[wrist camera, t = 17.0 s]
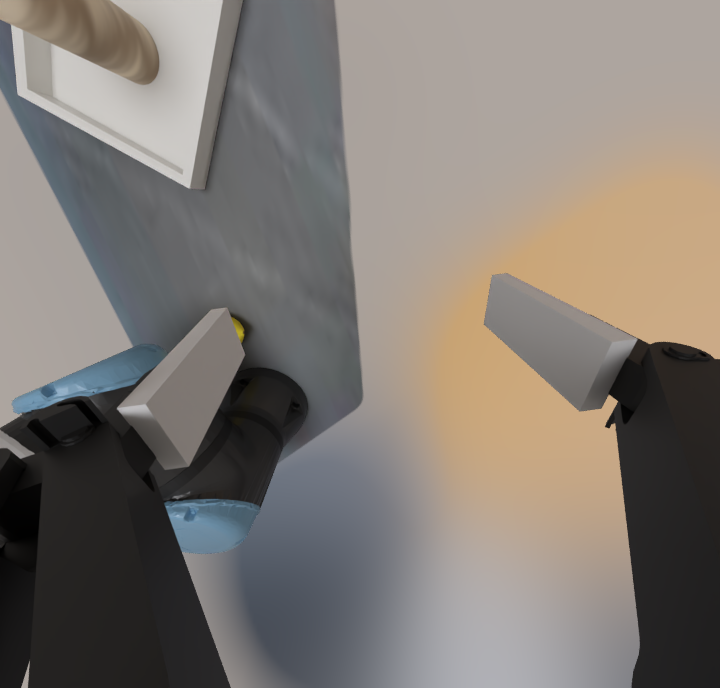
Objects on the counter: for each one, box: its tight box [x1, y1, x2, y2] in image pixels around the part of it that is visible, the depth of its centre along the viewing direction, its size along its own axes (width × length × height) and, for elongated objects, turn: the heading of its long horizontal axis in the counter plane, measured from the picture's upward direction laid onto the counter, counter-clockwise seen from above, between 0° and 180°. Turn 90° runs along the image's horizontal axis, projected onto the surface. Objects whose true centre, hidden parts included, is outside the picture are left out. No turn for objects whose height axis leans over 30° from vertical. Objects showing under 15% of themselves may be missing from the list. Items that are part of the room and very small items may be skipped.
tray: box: [11, 0, 243, 190], centre depth 26 cm, size 18×18×3 cm
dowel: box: [0, 0, 159, 85], centre depth 21 cm, size 5×5×14 cm
